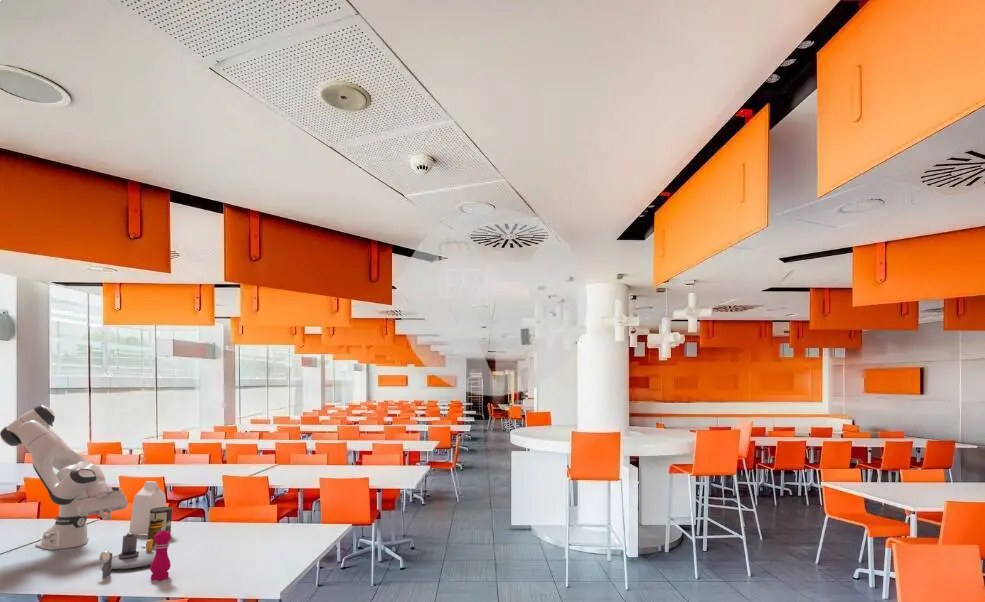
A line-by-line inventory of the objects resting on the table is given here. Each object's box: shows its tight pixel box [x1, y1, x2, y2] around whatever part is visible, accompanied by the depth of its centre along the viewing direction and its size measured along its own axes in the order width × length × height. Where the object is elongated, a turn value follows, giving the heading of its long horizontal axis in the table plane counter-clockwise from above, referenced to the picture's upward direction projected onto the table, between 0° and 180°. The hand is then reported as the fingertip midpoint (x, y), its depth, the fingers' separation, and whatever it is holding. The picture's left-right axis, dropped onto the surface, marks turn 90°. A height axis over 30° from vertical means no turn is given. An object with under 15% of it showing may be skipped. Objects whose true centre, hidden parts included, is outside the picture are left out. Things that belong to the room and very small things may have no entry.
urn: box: [118, 532, 139, 559], centre depth 257 cm, size 8×8×10 cm
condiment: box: [147, 519, 163, 546], centre depth 283 cm, size 7×8×12 cm
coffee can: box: [149, 506, 173, 535], centre depth 297 cm, size 10×10×14 cm
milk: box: [128, 480, 167, 536], centre depth 309 cm, size 12×12×26 cm
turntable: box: [101, 539, 156, 570], centre depth 254 cm, size 24×24×6 cm
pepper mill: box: [149, 527, 172, 582], centre depth 235 cm, size 7×7×20 cm
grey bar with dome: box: [99, 550, 113, 578], centre depth 237 cm, size 4×3×10 cm
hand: (107, 518), depth 268 cm, fingers closed
